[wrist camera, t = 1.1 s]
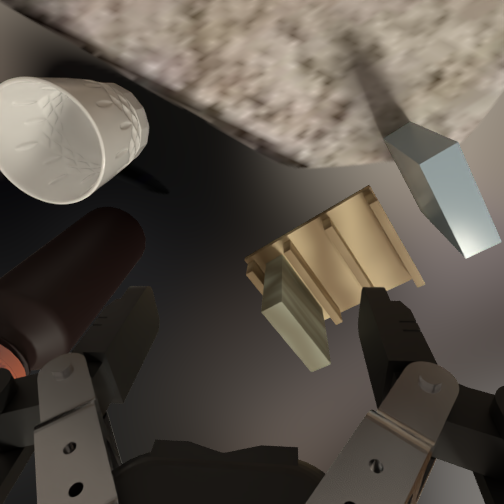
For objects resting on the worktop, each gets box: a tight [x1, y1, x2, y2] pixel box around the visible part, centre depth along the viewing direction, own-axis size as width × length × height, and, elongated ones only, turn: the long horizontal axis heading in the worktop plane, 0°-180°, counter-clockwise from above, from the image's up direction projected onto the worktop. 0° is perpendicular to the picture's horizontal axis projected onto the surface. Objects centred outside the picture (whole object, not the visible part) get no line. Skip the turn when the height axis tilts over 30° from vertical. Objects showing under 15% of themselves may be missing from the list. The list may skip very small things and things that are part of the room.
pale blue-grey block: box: [383, 122, 501, 258], centre depth 26 cm, size 2×8×9 cm, turn 35°
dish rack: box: [245, 185, 425, 372], centre depth 32 cm, size 14×11×9 cm
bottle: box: [0, 207, 146, 379], centre depth 27 cm, size 7×7×20 cm
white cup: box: [0, 77, 149, 204], centre depth 26 cm, size 8×8×10 cm
